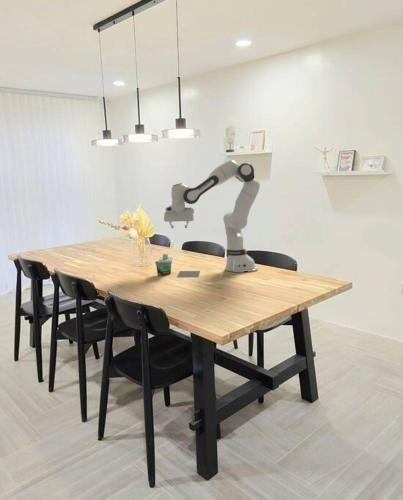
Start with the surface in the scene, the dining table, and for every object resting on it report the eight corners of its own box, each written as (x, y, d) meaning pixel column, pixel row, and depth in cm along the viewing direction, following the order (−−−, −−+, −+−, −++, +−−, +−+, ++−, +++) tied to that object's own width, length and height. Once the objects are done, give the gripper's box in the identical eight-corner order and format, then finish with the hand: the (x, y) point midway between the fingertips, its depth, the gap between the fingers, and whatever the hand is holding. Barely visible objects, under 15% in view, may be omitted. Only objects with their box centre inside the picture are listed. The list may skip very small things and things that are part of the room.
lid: (172, 258, 266) (172, 252, 265) (170, 262, 253) (170, 256, 253) (160, 258, 266) (160, 252, 266) (158, 262, 254) (157, 256, 253)
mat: (200, 271, 269) (200, 270, 269) (198, 277, 252) (198, 277, 252) (179, 271, 270) (179, 271, 270) (176, 278, 253) (176, 277, 253)
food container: (161, 277, 255) (160, 262, 254) (155, 276, 260) (155, 261, 258) (176, 274, 263) (175, 259, 261) (171, 272, 268) (170, 258, 266)
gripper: (194, 207, 271) (194, 227, 274) (164, 207, 272) (165, 227, 275) (193, 207, 265) (194, 228, 267) (163, 208, 266) (164, 228, 269)
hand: (179, 227), depth 271 cm, fingers open, 8 cm apart
